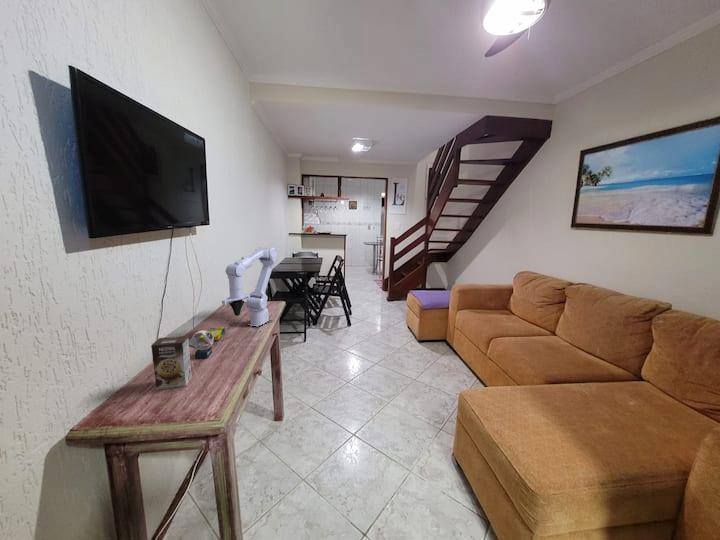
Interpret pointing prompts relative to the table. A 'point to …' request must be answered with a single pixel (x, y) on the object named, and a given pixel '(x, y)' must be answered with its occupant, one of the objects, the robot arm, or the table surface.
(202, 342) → the mat
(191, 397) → the table surface
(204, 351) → the watch
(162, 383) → the cookie box
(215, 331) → the crayon box
